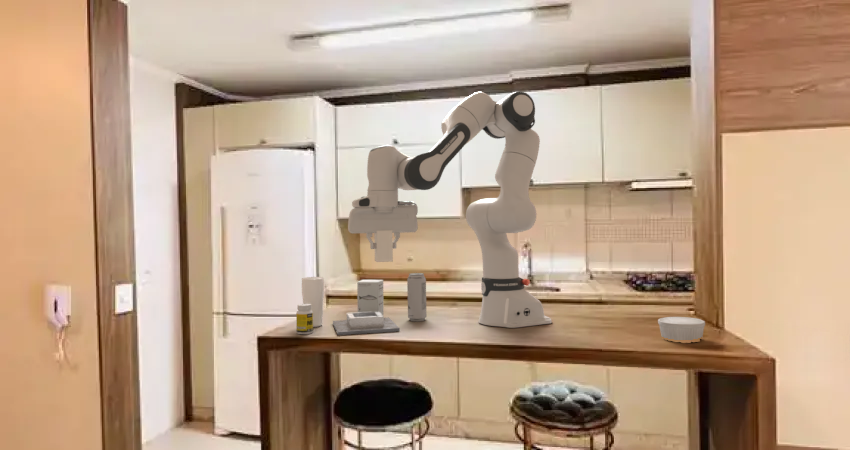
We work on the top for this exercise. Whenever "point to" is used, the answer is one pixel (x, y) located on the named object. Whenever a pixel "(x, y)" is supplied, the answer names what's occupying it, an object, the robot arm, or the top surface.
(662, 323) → the ramekin
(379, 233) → the small white box
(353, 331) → the dock socket
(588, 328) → the top surface
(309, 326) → the supplement bottle
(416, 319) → the energy drink can
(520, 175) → the robot arm
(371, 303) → the supplement box
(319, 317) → the drinking glass
